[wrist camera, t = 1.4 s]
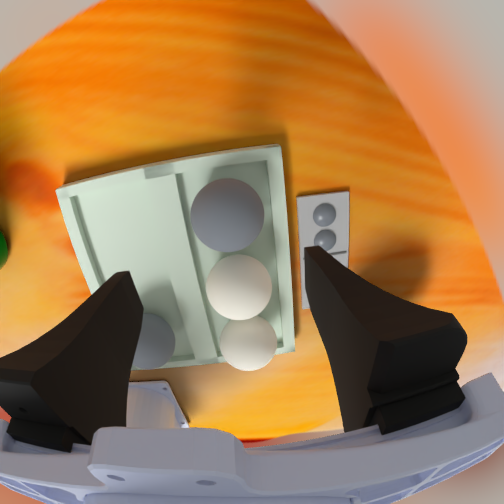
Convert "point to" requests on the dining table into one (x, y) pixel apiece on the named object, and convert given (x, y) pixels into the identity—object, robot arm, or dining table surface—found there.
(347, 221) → the card
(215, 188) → the charcoal ball front
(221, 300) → the cream ball middle
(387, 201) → the dining table surface
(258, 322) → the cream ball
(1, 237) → the soda can
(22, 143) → the dining table surface
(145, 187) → the rack
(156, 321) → the charcoal ball back
